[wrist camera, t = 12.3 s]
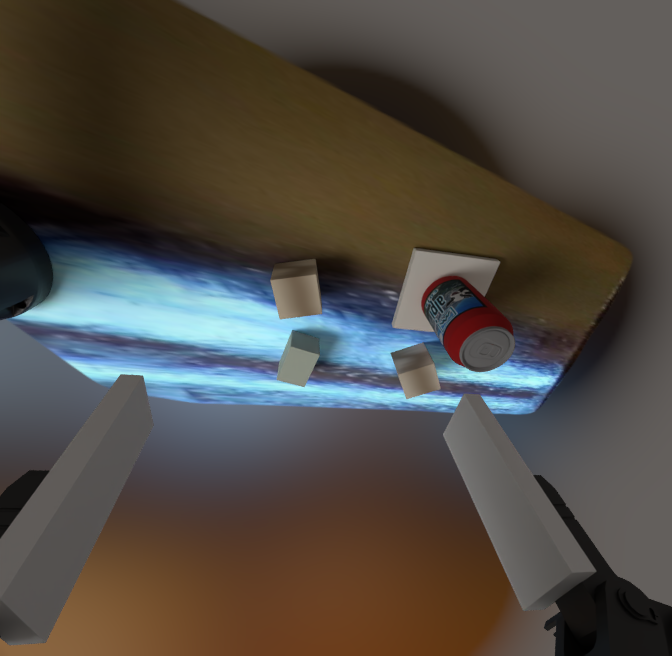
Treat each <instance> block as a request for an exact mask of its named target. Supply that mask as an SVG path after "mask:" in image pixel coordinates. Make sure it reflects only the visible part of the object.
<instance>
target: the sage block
mask: <svg viewBox="0 0 672 656" xmlns="http://www.w3.org/2000/svg"><path fill="white" fill-rule="evenodd" d="M319 355H320V348H319V338H316V337H313V336H309V335H306V334H303V333H300V332H296V331H293V330H292V332H291V335H290V337H289V339H288V342H287V344H286V347H285V349H284V352H283V354H282V357H281V359H280V362H279V368H278V375H277V380H279V381H283V382H287V383H291V384H295V385H298V386H302V387H305V385H306V383H307V380H308V378H309V376H310V374H311V372H312V370H313V368H314V366H315V364H316V362H317V360H318V358H319Z"/></svg>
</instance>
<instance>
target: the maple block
mask: <svg viewBox="0 0 672 656" xmlns="http://www.w3.org/2000/svg"><path fill="white" fill-rule="evenodd" d="M391 356H392V358H393V361H394V364H395V367H396V370H397V373H398V376H399V379H400V382H401V385H402V388H403V390H404V393H405V396H406V399H409V398H412V397H415V396H419V395H422V394H425V393H429V392H432V391H435V390H438V389H440V385H439V381H438V377H437V373H436V369H435V365H434V362H433V360H432V358H431V356H430V354H429V353H428V351H427V349H426V347H425V345H424V343H420V344H417V345H414V346H411V347H408V348H405V349H402V350H399V351H395V352H392V353H391Z"/></svg>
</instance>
